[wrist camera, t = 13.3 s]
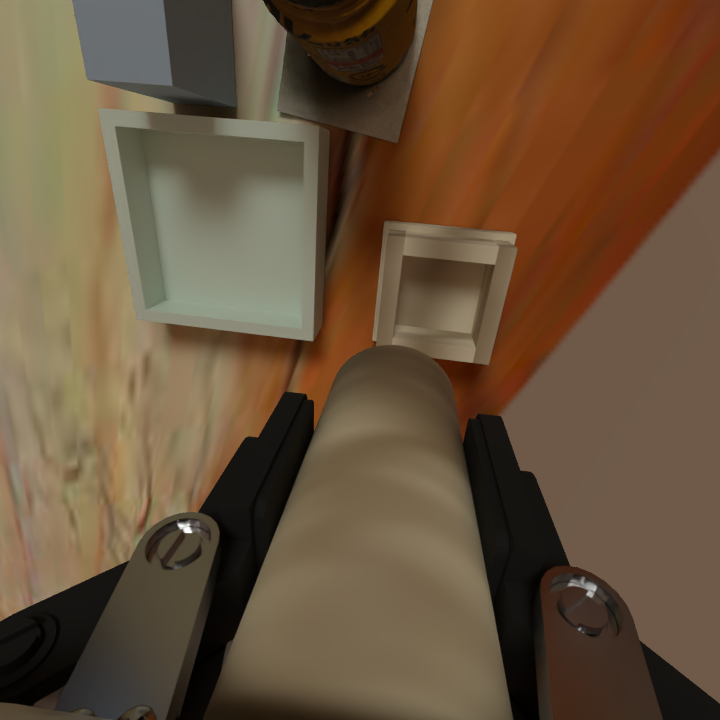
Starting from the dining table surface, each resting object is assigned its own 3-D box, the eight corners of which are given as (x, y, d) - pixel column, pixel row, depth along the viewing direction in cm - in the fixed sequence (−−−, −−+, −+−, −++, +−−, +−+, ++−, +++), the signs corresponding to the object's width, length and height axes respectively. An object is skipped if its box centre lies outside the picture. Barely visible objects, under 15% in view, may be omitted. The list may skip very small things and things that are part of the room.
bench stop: (228, -52, 21) (147, -147, 14) (236, 107, 24) (172, 85, 17) (155, -55, 21) (44, -150, 15) (172, 102, 24) (86, 79, 18)
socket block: (512, 232, 25) (527, 241, 22) (484, 348, 28) (493, 371, 25) (385, 220, 25) (381, 227, 22) (373, 335, 29) (368, 355, 26)
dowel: (464, 352, 12) (569, 722, 4) (444, 457, 14) (488, 868, 6) (333, 338, 12) (177, 653, 4) (329, 443, 14) (215, 810, 6)
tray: (330, 130, 24) (319, 125, 21) (322, 325, 29) (313, 341, 26) (132, 114, 25) (98, 108, 22) (161, 306, 30) (136, 319, 27)
